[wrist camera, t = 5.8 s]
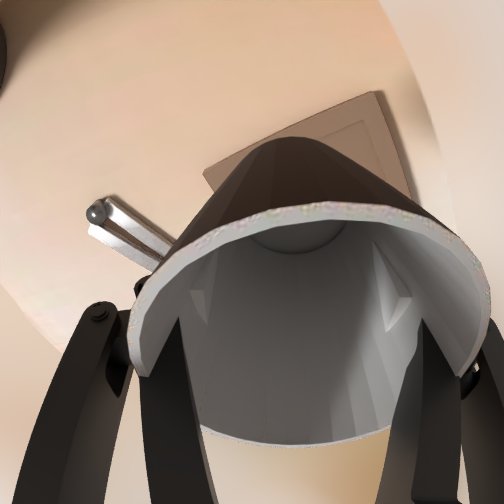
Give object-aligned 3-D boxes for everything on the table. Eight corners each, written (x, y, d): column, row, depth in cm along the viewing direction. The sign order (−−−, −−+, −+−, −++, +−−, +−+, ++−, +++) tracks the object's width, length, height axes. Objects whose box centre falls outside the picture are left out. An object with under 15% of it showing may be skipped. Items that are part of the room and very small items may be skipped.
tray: (204, 169, 30) (202, 173, 29) (369, 91, 25) (373, 92, 24) (283, 294, 39) (284, 300, 38) (418, 237, 33) (422, 243, 32)
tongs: (85, 220, 34) (78, 227, 32) (100, 190, 32) (93, 197, 30) (208, 306, 40) (206, 315, 39) (231, 285, 38) (230, 294, 37)
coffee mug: (216, 98, 12) (106, 160, 4) (399, 137, 13) (546, 253, 4) (196, 300, 19) (156, 454, 10) (333, 319, 19) (356, 470, 11)
